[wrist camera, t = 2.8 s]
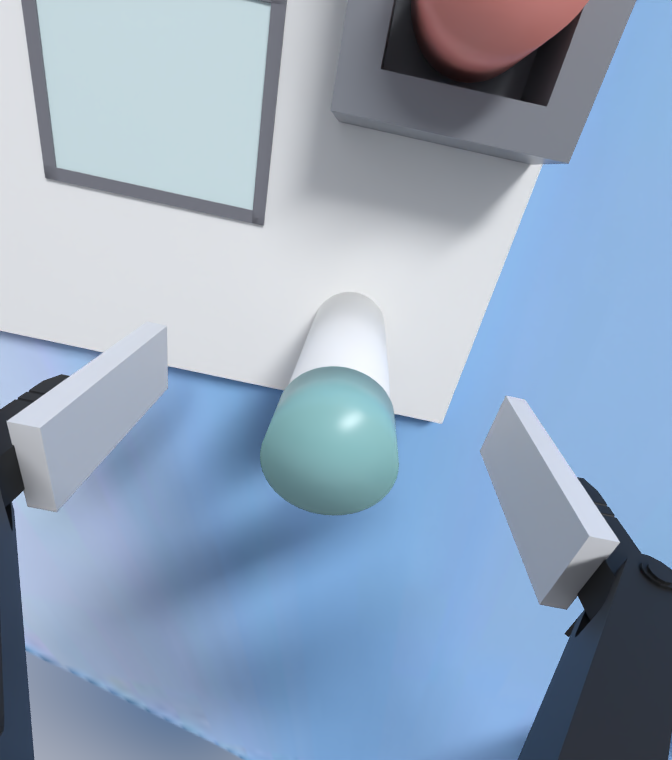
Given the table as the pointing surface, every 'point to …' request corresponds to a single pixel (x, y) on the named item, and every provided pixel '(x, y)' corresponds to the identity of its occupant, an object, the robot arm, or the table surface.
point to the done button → (486, 33)
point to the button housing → (475, 85)
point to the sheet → (232, 194)
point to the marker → (336, 415)
